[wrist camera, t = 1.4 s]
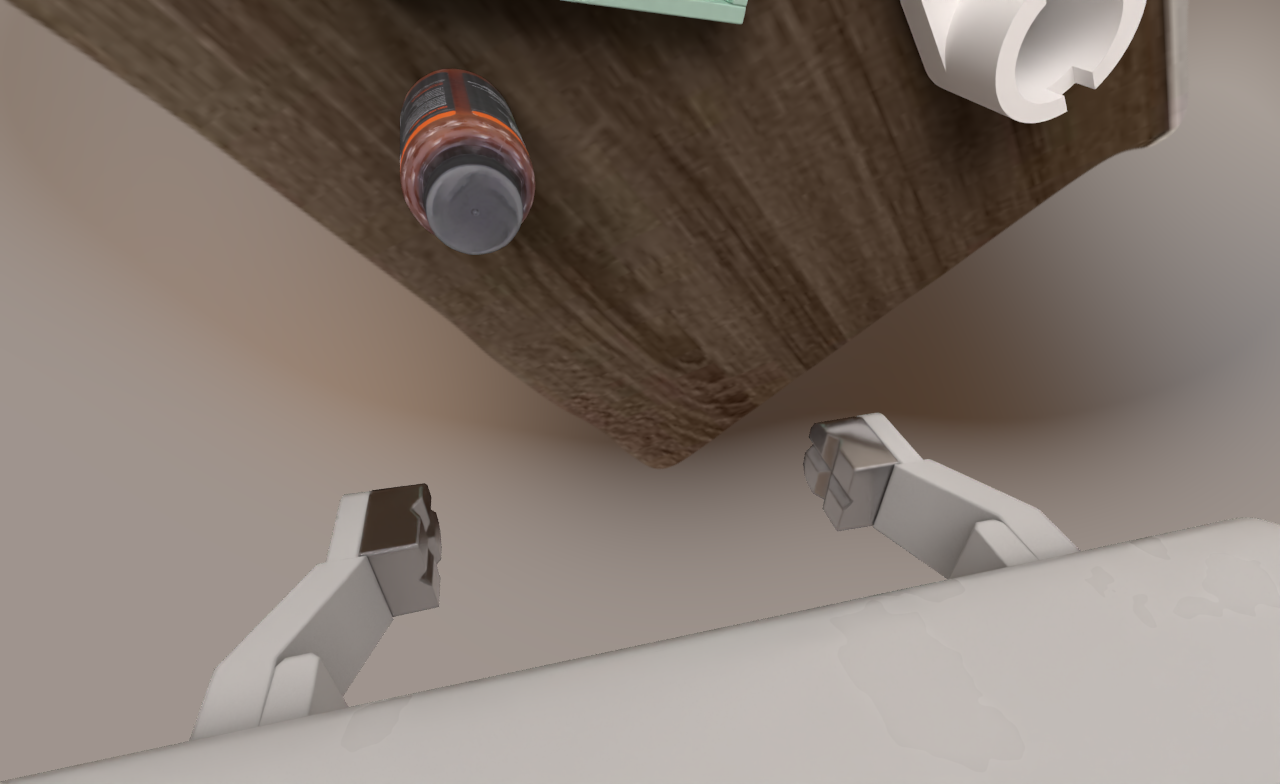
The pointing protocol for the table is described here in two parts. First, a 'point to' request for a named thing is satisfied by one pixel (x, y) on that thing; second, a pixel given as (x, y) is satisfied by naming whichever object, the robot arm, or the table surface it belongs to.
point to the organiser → (682, 8)
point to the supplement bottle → (464, 162)
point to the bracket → (1021, 48)
